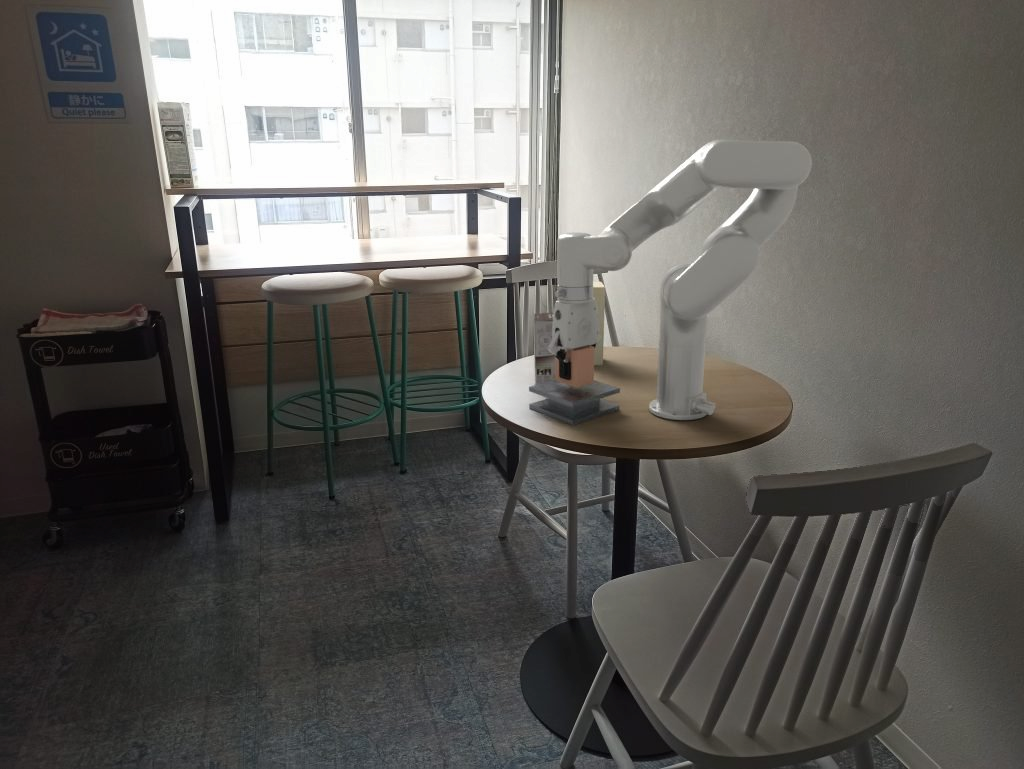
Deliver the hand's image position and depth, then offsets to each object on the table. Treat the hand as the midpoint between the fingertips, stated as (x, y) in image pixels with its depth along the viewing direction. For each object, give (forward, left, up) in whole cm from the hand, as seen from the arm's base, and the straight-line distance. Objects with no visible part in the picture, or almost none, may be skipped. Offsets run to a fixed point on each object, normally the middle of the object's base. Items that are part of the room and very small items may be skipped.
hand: (574, 375), depth 157 cm
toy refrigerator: (+24, -29, -8) cm, 38 cm away
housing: (0, 0, -2) cm, 2 cm away
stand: (0, 0, -8) cm, 8 cm away
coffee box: (+20, -10, -8) cm, 24 cm away
